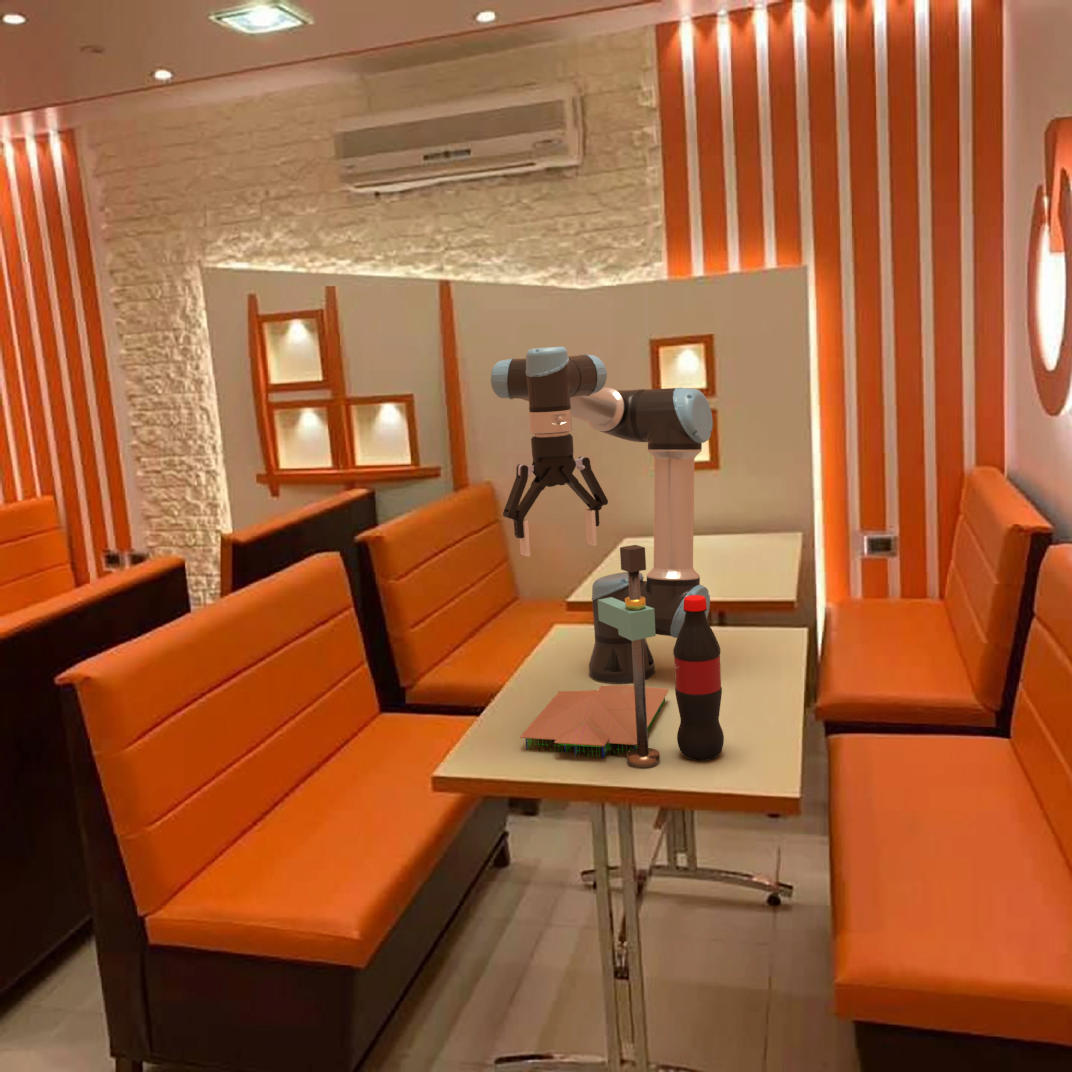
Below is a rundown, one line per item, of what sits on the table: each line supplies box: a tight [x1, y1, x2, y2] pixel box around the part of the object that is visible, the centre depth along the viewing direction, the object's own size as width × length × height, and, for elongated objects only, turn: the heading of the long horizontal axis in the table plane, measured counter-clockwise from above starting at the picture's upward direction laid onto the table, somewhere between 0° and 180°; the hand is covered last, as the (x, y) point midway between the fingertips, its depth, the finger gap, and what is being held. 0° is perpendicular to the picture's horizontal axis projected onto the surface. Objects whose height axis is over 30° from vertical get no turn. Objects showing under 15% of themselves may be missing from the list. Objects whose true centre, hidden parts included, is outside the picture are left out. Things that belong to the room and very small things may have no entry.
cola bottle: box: [672, 595, 725, 762], centre depth 189 cm, size 8×8×30 cm
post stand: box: [619, 544, 661, 769], centre depth 187 cm, size 6×6×40 cm
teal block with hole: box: [598, 597, 657, 641], centre depth 190 cm, size 14×5×5 cm, turn 25°
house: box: [519, 684, 670, 759], centre depth 208 cm, size 23×33×8 cm
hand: (559, 549), depth 192 cm, fingers open, 13 cm apart
